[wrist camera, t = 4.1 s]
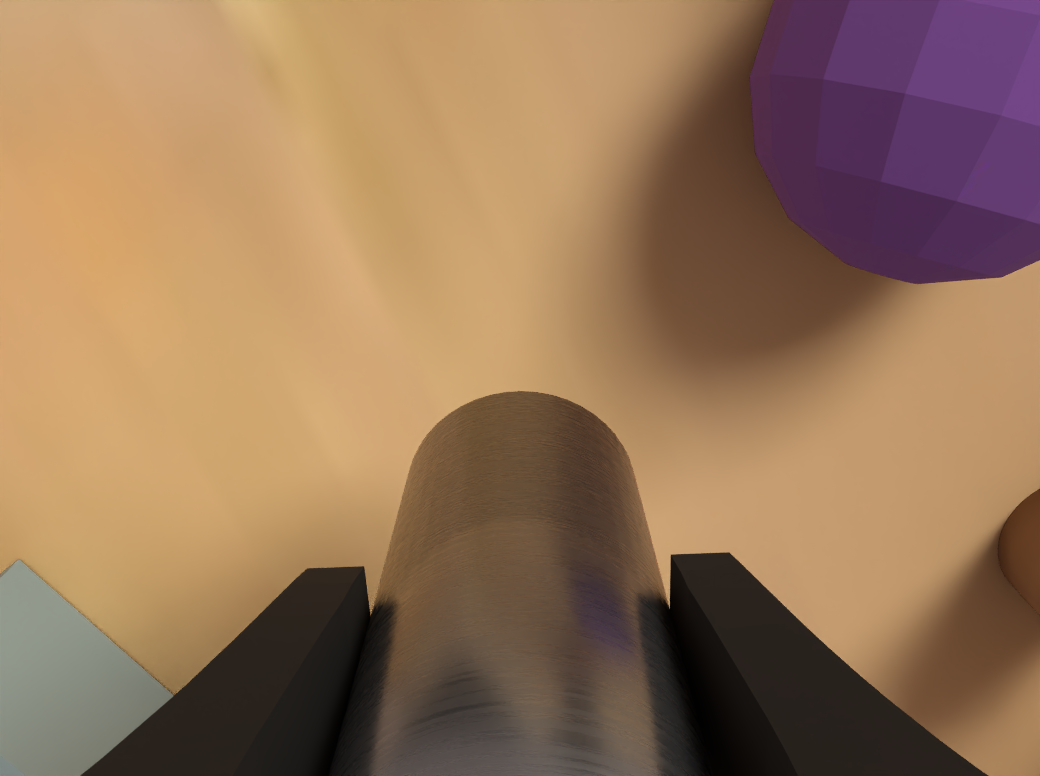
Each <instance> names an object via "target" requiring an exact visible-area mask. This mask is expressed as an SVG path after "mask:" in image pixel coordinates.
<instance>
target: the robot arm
mask: <svg viewBox="0 0 1040 776" xmlns="http://www.w3.org/2000/svg"><path fill="white" fill-rule="evenodd" d="M670 613H671V616H672V620H673V624H674V628H675V632H676V635H677V639H678V643H679V647H680V651H681V655H682V658H683V662H684V666H685V670H686V674H687V678H688V681H689V685H690V689H691V693H692V697H693V700H694V704H695V708H696V712H697V716H698V720H699V723H700V727H701V731H702V735H703V739H704V743H705V746H706V750H707V754H708V758H709V762H710V765H711V769H712V773H713V776H988V775H986V774H985V773H983V772H982V771H981V770H979V769H978V768H976V767H975V766H974V765H972V764H971V763H970V762H968V761H967V760H966V759H964V758H963V757H961V756H960V755H959V754H957V753H956V752H955V751H953V750H952V749H951V748H949V747H948V746H947V745H945V744H944V743H943V742H941V741H940V740H939V739H937V738H936V737H935V736H934V735H932V734H931V733H930V732H929V731H927V730H926V729H925V728H924V727H922V726H921V725H920V724H919V723H917V722H916V721H915V720H914V719H912V718H911V717H910V716H909V715H907V714H906V713H905V712H903V711H902V710H901V709H900V708H898V707H897V706H896V705H895V704H893V703H892V702H891V701H890V700H888V699H887V698H886V697H885V696H883V695H882V694H881V693H880V692H879V691H878V690H876V689H875V688H874V687H873V686H872V685H870V684H869V683H868V682H867V681H866V680H865V679H863V678H862V677H861V676H860V675H859V674H858V673H856V672H855V671H854V670H853V669H852V668H851V667H850V666H849V665H847V664H846V663H845V662H844V661H843V660H842V659H841V658H840V657H838V656H837V655H836V654H835V653H834V652H833V651H832V650H831V649H830V648H828V647H827V646H826V645H825V644H824V643H823V642H822V641H821V640H820V639H819V638H818V637H816V636H815V635H814V634H813V633H812V632H811V631H810V630H809V629H808V628H807V627H806V626H805V625H804V624H803V623H802V622H800V621H799V620H798V619H797V618H796V617H795V616H794V615H793V614H792V613H791V612H790V611H789V610H788V609H787V608H786V607H785V606H784V605H783V604H782V603H781V602H780V601H779V600H778V599H777V598H776V597H775V596H774V595H773V594H772V593H771V592H769V591H768V590H767V589H766V588H765V587H764V586H763V585H762V584H761V583H760V582H759V581H758V580H757V579H756V578H755V577H754V576H753V575H752V574H751V573H750V572H749V571H748V570H747V569H746V568H745V567H744V566H743V565H742V564H741V563H740V562H739V561H738V560H737V559H735V558H734V557H733V556H732V555H731V554H730V553H702V554H676V555H671V575H670ZM369 621H370V609H369V601H368V593H367V586H366V578H365V570H364V566H362V567H336V568H309V569H306V570H305V571H304V572H303V573H302V574H301V575H300V576H299V577H297V578H296V579H295V580H294V581H293V582H292V583H291V584H290V585H289V586H288V587H287V588H286V589H285V590H284V591H283V592H282V593H281V594H280V595H279V596H278V597H277V598H276V599H275V600H274V601H273V602H272V603H271V604H270V605H269V606H268V607H267V608H266V609H265V610H264V611H263V612H262V613H261V614H260V615H259V616H258V617H257V618H256V619H255V620H254V621H253V622H252V623H251V624H250V625H249V626H248V627H247V628H245V629H244V630H243V631H242V632H241V633H240V634H239V635H238V636H237V637H236V638H235V639H234V640H233V641H232V642H231V643H230V644H229V645H228V646H227V647H226V648H225V649H224V650H223V651H222V652H221V653H219V654H218V655H217V656H216V657H215V658H214V659H213V660H212V661H211V662H210V663H209V664H208V665H207V666H206V667H205V668H204V669H203V670H202V671H201V672H199V673H198V674H197V675H196V676H195V677H194V678H193V679H192V680H191V681H190V682H189V683H188V684H187V685H186V686H185V687H183V688H182V689H181V690H180V691H179V692H178V693H177V694H175V695H174V696H173V697H172V698H171V699H170V700H168V701H167V702H166V703H165V704H164V705H163V706H162V707H160V708H159V709H158V710H157V711H156V712H155V713H153V714H152V715H151V716H150V717H149V718H148V719H146V720H145V721H144V722H143V723H142V724H141V725H140V726H138V727H137V728H136V729H135V730H134V731H133V732H131V733H130V734H129V735H128V736H127V737H126V738H125V739H123V740H122V741H121V742H120V743H119V744H118V745H116V746H115V747H114V748H113V749H112V750H111V751H109V752H108V753H107V754H106V755H105V756H104V757H103V758H101V759H100V760H99V761H98V762H96V763H95V764H94V765H93V766H91V767H90V768H89V769H88V770H86V771H85V772H84V773H83V774H81V775H80V776H329V772H330V768H331V765H332V761H333V757H334V753H335V750H336V746H337V742H338V738H339V734H340V731H341V727H342V723H343V719H344V716H345V712H346V708H347V704H348V700H349V697H350V693H351V689H352V685H353V682H354V678H355V674H356V670H357V666H358V663H359V659H360V655H361V651H362V647H363V644H364V640H365V636H366V632H367V629H368V625H369Z"/></svg>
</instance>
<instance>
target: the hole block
mask: <svg viewBox="0 0 1040 776" xmlns="http://www.w3.org/2000/svg"><path fill="white" fill-rule="evenodd" d="M173 696H174V695H173V694H171V693H170V692H169V691H168V690H167V689H166V688H165V687H163V686H162V685H161V684H160V683H159V682H158V681H157V680H156V679H154V678H153V677H152V676H151V675H150V674H149V673H148V672H146V671H145V670H144V669H143V668H142V667H141V666H140V665H138V664H137V663H136V662H135V661H134V660H133V659H132V658H131V657H129V656H128V655H127V654H126V653H125V652H124V651H123V650H121V649H120V648H119V647H118V646H117V645H116V644H115V643H114V642H112V641H111V640H110V639H109V638H108V637H107V636H106V635H104V634H103V633H102V632H101V631H100V630H99V629H98V628H96V627H95V626H94V625H93V624H92V623H91V622H90V621H89V620H87V619H86V618H85V617H84V616H83V615H82V614H81V613H79V612H78V611H77V610H76V609H75V608H74V607H73V606H72V605H70V604H69V603H68V602H67V601H66V600H65V599H64V598H62V597H61V596H60V595H59V594H58V593H57V592H56V591H54V590H53V589H52V588H51V587H50V586H49V585H48V584H47V583H45V582H44V581H43V580H42V579H41V578H40V577H39V576H37V575H36V574H35V573H34V572H33V571H32V570H31V569H30V568H28V567H27V566H26V565H25V564H24V563H23V562H22V561H20V560H19V559H18V560H17V561H16V562H15V563H13V564H12V565H11V566H10V567H8V568H7V569H6V570H4V571H3V572H2V573H1V574H0V776H80V775H81V774H83V773H84V772H85V771H86V770H88V769H89V768H90V767H91V766H93V765H94V764H95V763H96V762H98V761H99V760H100V759H101V758H103V757H104V756H105V755H106V754H107V753H108V752H109V751H111V750H112V749H113V748H114V747H115V746H116V745H118V744H119V743H120V742H121V741H122V740H123V739H125V738H126V737H127V736H128V735H129V734H130V733H131V732H133V731H134V730H135V729H136V728H137V727H138V726H140V725H141V724H142V723H143V722H144V721H145V720H146V719H148V718H149V717H150V716H151V715H152V714H153V713H155V712H156V711H157V710H158V709H159V708H160V707H162V706H163V705H164V704H165V703H166V702H167V701H168V700H170V699H171V698H172V697H173Z"/></svg>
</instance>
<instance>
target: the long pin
mask: <svg viewBox="0 0 1040 776" xmlns="http://www.w3.org/2000/svg"><path fill="white" fill-rule="evenodd" d="M329 776H713V773H712V769H711V765H710V762H709V758H708V754H707V750H706V746H705V743H704V739H703V735H702V731H701V727H700V723H699V720H698V716H697V712H696V708H695V704H694V700H693V697H692V693H691V689H690V685H689V681H688V678H687V674H686V670H685V666H684V662H683V658H682V655H681V651H680V647H679V643H678V639H677V635H676V632H675V628H674V624H673V620H672V616H671V613H670V609H669V605H668V601H667V597H666V593H665V590H664V586H663V582H662V578H661V574H660V571H659V567H658V563H657V559H656V555H655V551H654V548H653V544H652V540H651V536H650V532H649V528H648V525H647V521H646V517H645V513H644V509H643V506H642V502H641V498H640V494H639V490H638V486H637V483H636V479H635V475H634V471H633V468H632V465H631V462H630V459H629V457H628V455H627V453H626V451H625V449H624V447H623V445H622V444H621V442H620V441H619V439H618V438H617V436H616V435H615V434H614V433H613V432H612V430H611V429H610V428H609V427H608V426H607V425H606V424H605V423H604V422H603V421H601V420H600V419H599V418H598V417H597V416H595V415H594V414H593V413H591V412H590V411H588V410H586V409H585V408H583V407H582V406H580V405H577V404H575V403H573V402H571V401H569V400H566V399H563V398H560V397H557V396H554V395H549V394H544V393H538V392H525V391H518V392H504V393H499V394H493V395H489V396H486V397H483V398H479V399H476V400H474V401H472V402H469V403H467V404H465V405H463V406H461V407H459V408H458V409H456V410H455V411H453V412H451V413H450V414H448V415H447V416H446V417H445V418H444V419H442V420H441V421H440V422H439V423H438V424H437V425H436V426H435V427H434V428H433V429H432V430H431V431H430V432H429V433H428V434H427V436H426V437H425V439H424V440H423V442H422V443H421V445H420V446H419V448H418V450H417V452H416V454H415V456H414V458H413V461H412V464H411V467H410V470H409V474H408V477H407V481H406V485H405V489H404V492H403V496H402V500H401V504H400V508H399V511H398V515H397V519H396V523H395V526H394V530H393V534H392V538H391V542H390V545H389V549H388V553H387V557H386V561H385V564H384V568H383V572H382V576H381V579H380V583H379V587H378V591H377V595H376V598H375V602H374V606H373V610H372V613H371V617H370V621H369V625H368V629H367V632H366V636H365V640H364V644H363V647H362V651H361V655H360V659H359V663H358V666H357V670H356V674H355V678H354V682H353V685H352V689H351V693H350V697H349V700H348V704H347V708H346V712H345V716H344V719H343V723H342V727H341V731H340V734H339V738H338V742H337V746H336V750H335V753H334V757H333V761H332V765H331V768H330V772H329Z"/></svg>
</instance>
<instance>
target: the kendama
mask: <svg viewBox="0 0 1040 776" xmlns="http://www.w3.org/2000/svg"><path fill="white" fill-rule="evenodd" d="M750 91H751V104H752V118H753V132H754V145H755V154H756V156H757V158H758V160H759V162H760V164H761V166H762V168H763V170H764V172H765V174H766V176H767V178H768V179H769V181H770V183H771V185H772V187H773V189H774V191H775V193H776V195H777V197H778V199H779V201H780V203H781V204H782V206H783V208H784V210H785V212H786V214H787V216H788V218H789V219H790V220H792V221H793V222H794V223H795V224H797V225H798V226H799V227H800V228H802V229H803V230H804V231H805V232H807V233H808V234H809V235H810V236H812V237H813V238H814V239H815V240H817V241H818V242H819V243H820V244H822V245H823V246H824V247H825V248H827V249H828V250H829V251H830V252H832V253H833V254H834V255H835V256H837V257H838V258H839V259H840V260H842V261H843V262H844V263H846V264H848V265H851V266H854V267H857V268H859V269H863V270H866V271H869V272H872V273H875V274H879V275H882V276H886V277H889V278H893V279H897V280H901V281H905V282H909V283H914V284H923V283H935V282H948V281H961V280H973V279H986V278H999V277H1003V276H1005V275H1008V274H1010V273H1012V272H1014V271H1016V270H1019V269H1021V268H1023V267H1025V266H1028V265H1030V264H1032V263H1034V262H1036V261H1039V260H1040V0H774V1H773V5H772V8H771V11H770V14H769V17H768V20H767V24H766V27H765V30H764V33H763V36H762V40H761V43H760V46H759V49H758V52H757V55H756V59H755V62H754V65H753V68H752V71H751V74H750Z"/></svg>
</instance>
